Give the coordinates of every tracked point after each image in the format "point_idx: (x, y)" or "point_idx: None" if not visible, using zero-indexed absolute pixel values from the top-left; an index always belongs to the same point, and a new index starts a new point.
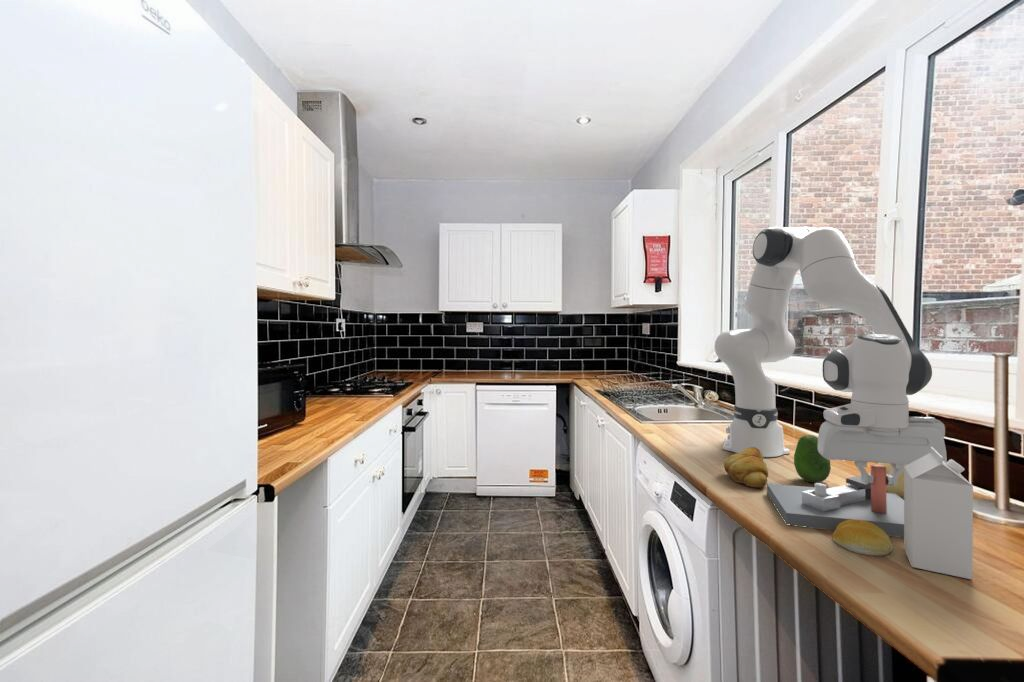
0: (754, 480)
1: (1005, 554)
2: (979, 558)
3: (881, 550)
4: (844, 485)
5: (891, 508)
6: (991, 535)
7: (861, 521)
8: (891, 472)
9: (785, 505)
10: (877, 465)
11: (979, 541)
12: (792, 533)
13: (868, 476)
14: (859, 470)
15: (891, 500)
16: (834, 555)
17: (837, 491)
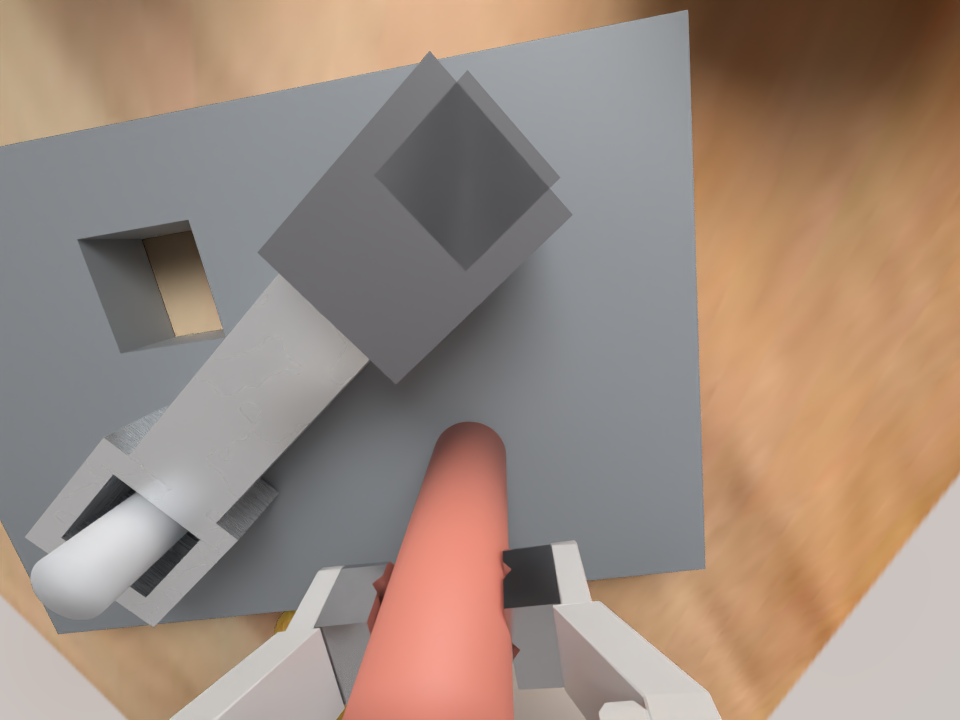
0: None
1: (862, 558)
2: (737, 623)
3: None
4: (275, 284)
5: (551, 379)
6: (948, 370)
7: (342, 713)
8: (578, 654)
9: (33, 546)
10: (426, 716)
11: (839, 465)
12: (143, 646)
13: (345, 691)
14: (255, 658)
15: (600, 215)
16: None
17: (225, 454)
